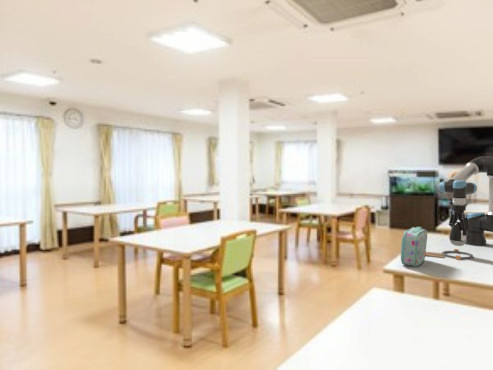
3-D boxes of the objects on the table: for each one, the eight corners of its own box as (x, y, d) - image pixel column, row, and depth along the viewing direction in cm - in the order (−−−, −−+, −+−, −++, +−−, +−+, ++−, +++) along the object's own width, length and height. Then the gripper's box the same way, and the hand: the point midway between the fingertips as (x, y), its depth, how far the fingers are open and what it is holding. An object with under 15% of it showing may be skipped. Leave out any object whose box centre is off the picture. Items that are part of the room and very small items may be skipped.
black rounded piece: (470, 245, 251) (471, 222, 250) (459, 247, 247) (460, 223, 246) (456, 242, 260) (456, 220, 259) (445, 244, 256) (446, 221, 255)
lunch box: (409, 257, 250) (410, 223, 248) (427, 259, 244) (428, 225, 242) (398, 266, 228) (399, 229, 227) (417, 269, 222) (418, 231, 221)
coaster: (424, 252, 262) (424, 251, 262) (443, 254, 258) (443, 253, 258) (424, 256, 252) (424, 255, 252) (443, 258, 248) (443, 257, 248)
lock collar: (441, 250, 267) (441, 247, 267) (471, 253, 260) (471, 250, 260) (442, 258, 248) (442, 254, 247) (474, 261, 240) (474, 257, 240)
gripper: (443, 202, 262) (442, 235, 264) (464, 206, 240) (463, 242, 242) (453, 202, 263) (453, 234, 265) (476, 206, 241) (475, 242, 242)
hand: (458, 238), depth 253 cm, fingers closed on black rounded piece, 10 cm apart
